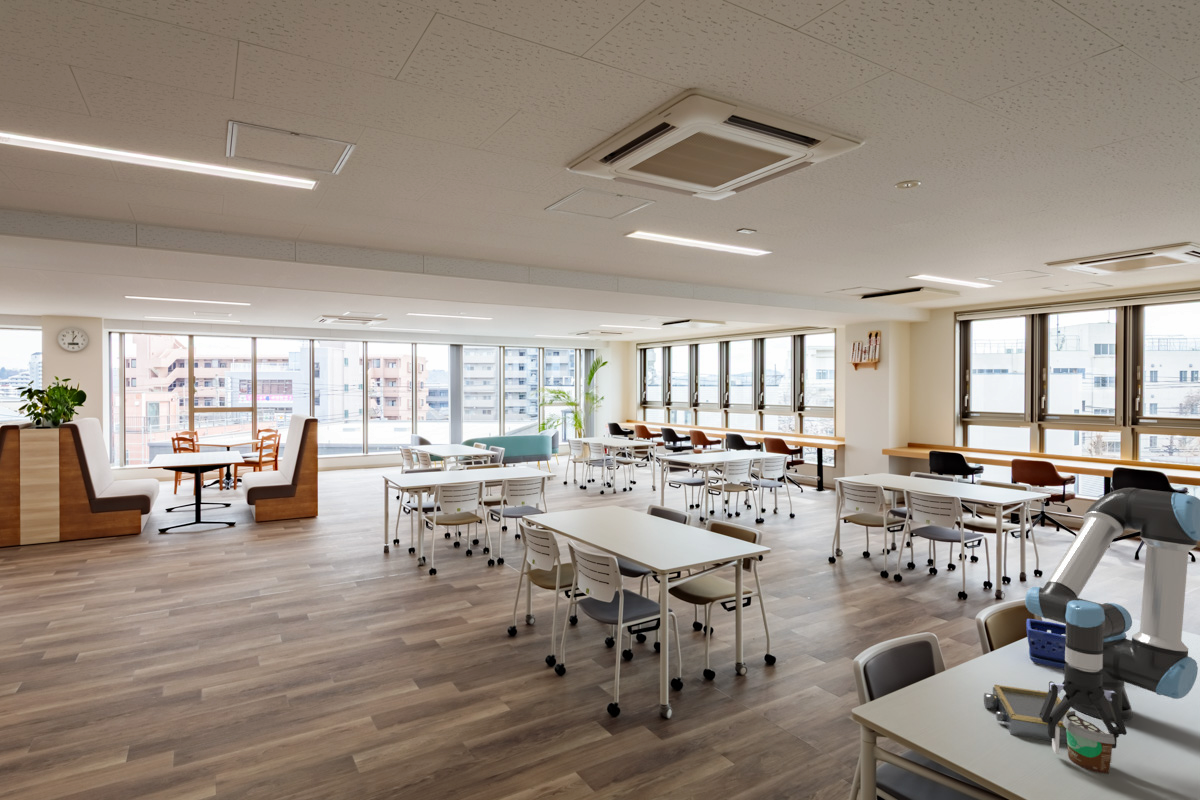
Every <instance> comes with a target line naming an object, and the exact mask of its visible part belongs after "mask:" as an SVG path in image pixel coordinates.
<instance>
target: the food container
mask: <svg viewBox="0 0 1200 800" xmlns="http://www.w3.org/2000/svg"><path fill="white" fill-rule="evenodd" d="M1069 711H1070V710H1069ZM1063 725H1064V726H1065V727H1066V731H1067V743H1066V744H1067V756H1068V758H1069V760H1070V761H1071V762H1072V763H1073V764H1074V765H1076V766H1078V767H1081V768H1083V769H1085V770H1088V771H1091V772H1094V773H1099V774H1110V766H1111V763H1110V760H1111V761H1112V759H1111V752H1112V753H1113V751H1112V750H1113V748H1112V744H1115V739H1114V737H1113V734H1106V733H1104V731H1103V730H1101V729H1100V728H1099V727H1097V726H1096V725H1095V724H1093V723H1091V722H1090V721H1087V720H1085V719H1083V718H1081V717H1079V716H1078V715H1077V714H1076V710H1071V711H1070V712H1068V713H1066V715H1065V717H1064V720H1063Z"/></svg>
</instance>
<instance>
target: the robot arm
mask: <svg viewBox="0 0 1200 800" xmlns="http://www.w3.org/2000/svg"><path fill="white" fill-rule="evenodd" d="M1082 520H1083V525H1082V526H1081V527H1080V529H1079V530H1078V532H1077V534H1076V535H1075V537H1074V539H1073V540H1072V542H1071V544H1070V545H1069V547H1068V548H1067V550H1066V552H1065V553H1064V554H1063V556H1062V558H1061V559H1060V561H1059V563H1058V565H1057V566H1056V568H1055V569H1054V571H1053V573H1052V574H1051V575H1050V577H1049V578H1048V580H1047V581H1046V583H1045V584H1044V587H1040V586H1039V587H1038V586H1031V588H1029V589H1028V590H1027V591H1026V594H1025V598H1024V599H1025V601H1024V603H1025V608H1027V611H1028V612H1029V613H1031V614H1033V615H1036V616H1038V617H1041V618H1043V619H1048V620H1051V621H1055V622H1057V623H1060V624H1064V625H1066V635H1065V636H1066V642H1065V661H1066V663H1065V669H1064V673H1063V674H1064V677H1063V678H1064V680H1063V681H1062V683H1056V682H1054V681H1049V682H1048V691H1047V692H1048V694H1047V697H1046V699H1045V702H1044V704H1043V707H1042V709H1041V712H1040V714H1039V716H1040V718H1041V719H1042V721H1043V722H1045V723H1048V735H1049V737H1050V738H1052V741H1051V749H1052V750H1053V752H1054V754H1056V755H1060V742H1059V734H1060V728H1059V726H1058V725H1057V724H1058V722H1059V721H1060V720H1061V719H1062V717H1063V716H1064V715H1065V714H1066V712H1067V711H1068V710H1069V711H1070V709H1071V708H1073V709H1075V711H1078V712H1081V713H1082V714H1086V715H1087V716H1092V717H1095V718H1099V719H1101V721H1102V722H1103V725H1105V727H1106V729H1107V730H1105V729H1104V730H1103V732H1104V733H1106V734H1113V737H1114V739H1115V744H1112V749H1116V748H1117V743H1118V742H1117V741H1118V740H1117V739H1118V738H1119V737H1120V735H1123V736H1125V735H1127V729H1126V727H1125V723H1124V721H1128V720H1131V718H1132V713H1133V711H1132V709H1133V708H1132V706H1131V703H1130V700H1129V697H1128V695H1127V694H1128V693H1127V691H1126V687H1125V683H1127V684H1129V685H1132V686H1135V687H1138V688H1140V689H1144V690H1146V691H1149V692H1152V693H1154V694H1156V695H1159V696H1163V697H1168V698H1171V699H1173V700H1175V699H1176V700H1178V699H1182V698H1185V697H1186V696H1188V694H1189V693H1190V692H1191V690H1192V689H1193V687H1194V685H1195V683H1196V680H1197V676H1198V667H1199V666H1198V662H1197V661H1196V659H1194V658H1193V657H1190V656H1189V648H1188V646H1186V645H1185V643H1184V642H1183V641H1182V638H1183V637H1182V636H1183V625H1184V611H1185V599H1186V598H1185V597H1186V588H1187V585H1186V584H1187V576H1188V575H1187V573H1188V562H1189V560H1188V559H1189V552H1190V551H1191V550H1193V549H1194V548H1195V549H1196V547H1197V545H1198V542H1199V541H1200V498H1199V497H1197V496H1195V495H1191V494H1186V493H1179V492H1171V491H1161V490H1154V489H1153V490H1152V489H1145V488H1144V489H1143V488H1139V487H1123V488H1120V489H1116V490H1113V491H1110V492H1109V493H1107V494H1105V495H1103V496H1101V497H1100V498H1098V499H1097V500H1096V501H1095V502H1093V504H1091V505H1090V506H1089V507H1088V508H1087V510H1086V512H1085V513H1084V515H1083V517H1082ZM1128 529H1130V530H1137V531H1140V536H1139V537H1140V539H1141V540H1142V541H1143V543H1144V544H1146V551H1145V561H1144V563H1145V564H1144V575H1143V586H1142V599H1141V610H1140V611H1141V613H1140V622H1139V624H1140V625H1139V631H1138V632H1137V633H1134V634H1133V635H1132V636H1131V639H1128V638H1127V632H1128V631H1130V629H1132V628H1131V627H1132V626H1133V618H1132V616H1131V614H1130V612H1129V611H1128V609H1126V608H1125V607H1123V606H1122V605H1120V604H1118V603H1114V602H1111V603H1109V602H1107V603H1106V602H1105V603H1104V602H1103V603H1098V602H1094V601H1091V600H1088V599H1083V598H1079V596H1080V595H1081V593H1082V591H1083V589H1084V588H1085V586H1086V584H1087V583H1088V581H1089V579H1090V578H1091V577H1092V575H1093V573H1094V572H1095V569H1096V568H1097V566H1098V565H1099V563H1100V562H1101V560H1102V558H1103V556H1104V555H1105V553H1107V550H1108V548H1109V547H1110V545H1111V544H1112V541H1113V540H1114V539H1115V538H1116V537H1120V536H1121V535H1122V534H1123V533H1124V531H1125V530H1128ZM1062 690H1063V691H1064V692H1065V694H1064V695H1063V697H1062V699H1061V702H1060V703H1059V705H1058V706H1057V707H1056V708H1055V710H1054V711H1053V712H1052V709H1053V707H1054V704H1055V702H1056V699H1057V696H1058V694H1060V693H1061V691H1062ZM1058 697H1059V696H1058ZM1051 712H1052V713H1051ZM1050 714H1051V715H1050ZM1112 721H1114V723H1115V726H1114V725H1113V724H1112ZM1112 753H1113V751H1112V752H1111V760H1110V764H1112Z"/></svg>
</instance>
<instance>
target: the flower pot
mask: <svg viewBox="0 0 1200 800" xmlns="http://www.w3.org/2000/svg"><path fill="white" fill-rule="evenodd" d="M1025 624H1026V637H1027V642H1028V647H1029V648H1028V653H1029V654H1028V655H1029V659H1030V660H1031V661H1032V663H1034V664H1039V665H1042V666H1047V667H1052V668H1057V669H1062V670H1065V663H1066V661H1065V642H1066V624H1063V623H1058V622H1052V621H1045V620H1039V619H1034V618H1033V619H1032V618H1027V619H1026V622H1025ZM1048 631H1050V632H1048Z"/></svg>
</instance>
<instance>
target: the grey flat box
mask: <svg viewBox="0 0 1200 800" xmlns="http://www.w3.org/2000/svg"><path fill="white" fill-rule="evenodd" d="M1048 692H1049V691H1042V690H1035V689H1029V688H1023V687H1022V688H1021V687H1014V686H1008V685H1007V686H1006V685H1000V684H994V685H993V686H992V693H988V692H984V694H983V705H984V707H985V709H990V710H996V711H995V719H996V721H997V722H1003V723H1004V725H1005V726H1006V729H1007V731H1008V733H1009V734H1010V735H1014V736H1018V737H1025V738H1031V739H1036V740H1037V739H1038V740H1043V741H1047V742H1048V741H1050V742H1052V738H1050V737H1049V735H1048V723H1045V722H1043V721H1042V719H1041V718H1040V716H1039V714H1040V712H1041V709H1042V707H1043V704H1044V702H1045V699H1046V697H1047V694H1048ZM1060 698H1061V697H1059V696H1057V699H1056V702H1055V704H1054V707H1053V709H1052V712H1053V711H1054V710H1055V708H1056V707H1057V706H1058V705H1059V703H1060V702H1061V701H1062V699H1060ZM1052 712H1051V713H1052ZM1068 712H1070V709H1069V710H1068V711H1067V712H1066V713H1068ZM1050 715H1051V714H1050ZM1065 715H1066V714H1065ZM1065 715H1064V716H1063V717H1062V719H1061V720H1060V721H1059V722H1058V724H1057V725H1058V726H1059V728H1060V734H1059V744H1061V743H1062V744H1067V731H1066V727H1065V726H1064V725H1063V720H1064V717H1065Z"/></svg>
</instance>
